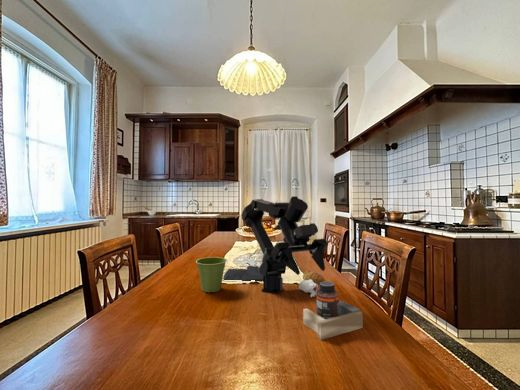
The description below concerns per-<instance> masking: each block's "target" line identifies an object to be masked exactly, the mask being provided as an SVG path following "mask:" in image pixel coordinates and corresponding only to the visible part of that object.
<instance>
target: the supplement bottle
mask: <svg viewBox="0 0 520 390" xmlns="http://www.w3.org/2000/svg"><path fill="white" fill-rule="evenodd" d="M335 286H336V285H335V283H334V282H331V281H325V282H321V283H320V284H319V289H317V291H316V292H317V296H316V314H317V315H319V316H321V317H322V318H324V319H330V318H334V317H338V316H339V301H340V300H339V299H340V298H339V292H338V291H336V287H335Z"/></svg>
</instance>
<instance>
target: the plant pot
mask: <svg viewBox="0 0 520 390" xmlns="http://www.w3.org/2000/svg"><path fill="white" fill-rule="evenodd" d="M227 261H228V259H227V258H224V257H221V256H220V257H219V256H209V257H202V258H198V259H196V261H195V263H196V265H197V266H196V267H197V269H198V272H199V273H198V274H199V279H200V287H201V291H202V292H204V293H207V292H208V293H211V292H212V293H216V292H217V293H218V292H219V291H221V290H222V285H223V284H222V283H223V278H224V271H225V267H226V263H227Z"/></svg>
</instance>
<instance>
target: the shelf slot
mask: <svg viewBox="0 0 520 390" xmlns="http://www.w3.org/2000/svg"><path fill="white" fill-rule="evenodd" d="M302 310H303V311H302V320H303V321H302V324H303V325H304V326H306V327H308V328H309V329H310V330H312V332H315V333H316V334H317V338H318V339H319V341H323V340H327V339H330V338H333V337H336V336H339V335H343V334H346V333H350V332H352V331H353V332H354V331H356V330H359V329H362V328H364V318H363V317H364V316H363V314H364V313H363V311H361V309H360V308H358V307H356V306H353V305H351V304H349V303H347V302H345V301H343V300H339V316H338V317H334V318H330V319H324V318H322V317H321V316H319V315H317V312H316V313H315V312H314V311H312V310H310V309H309V308H303V309H302Z"/></svg>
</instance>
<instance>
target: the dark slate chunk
mask: <svg viewBox="0 0 520 390" xmlns="http://www.w3.org/2000/svg"><path fill="white" fill-rule="evenodd" d="M259 267H260V266H257V265H255V266H253V265H248V266H247V267H246V268H228V269H227V270H226V271H225V273H224V274H223V279H224V280H242V281H251V280H255V281H263V275H262V274H260V271H259ZM223 279H222V280H223ZM224 280H223V281H224Z"/></svg>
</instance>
